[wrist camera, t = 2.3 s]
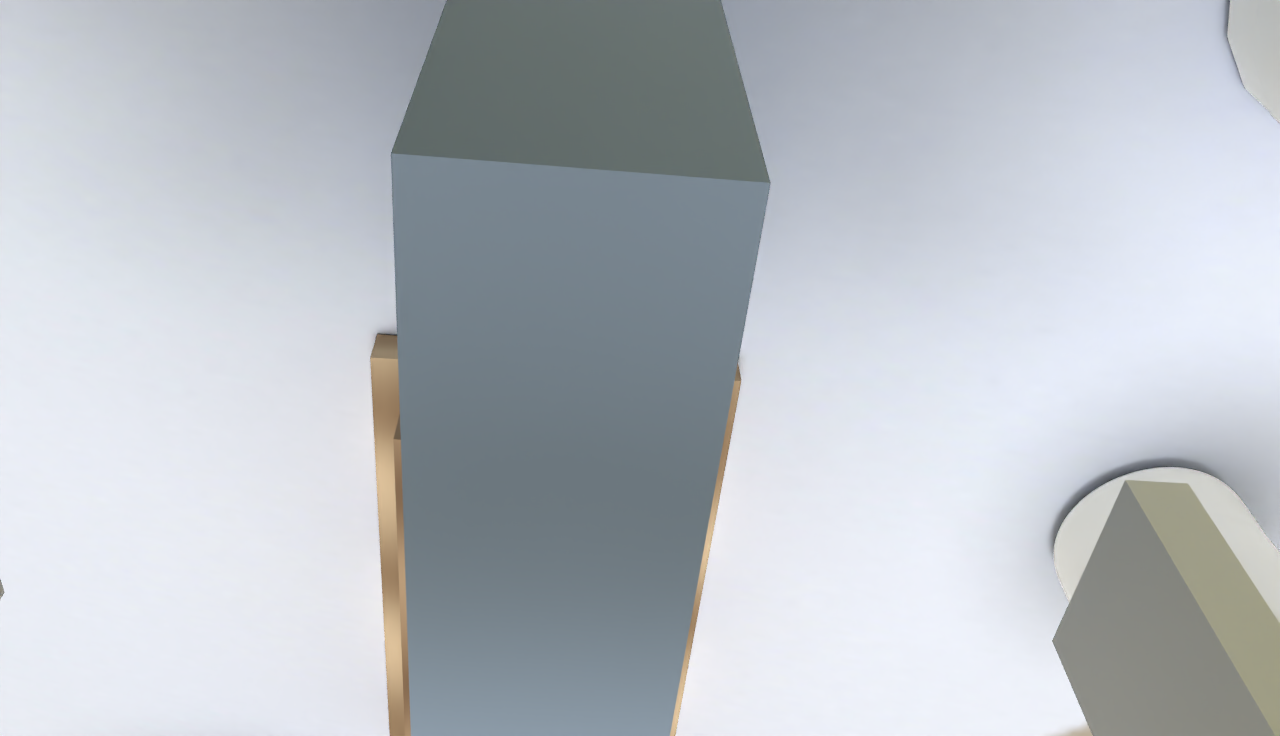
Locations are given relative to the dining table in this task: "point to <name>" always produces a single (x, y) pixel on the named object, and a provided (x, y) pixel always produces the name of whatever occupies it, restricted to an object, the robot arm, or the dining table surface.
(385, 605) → the brown wooden open box
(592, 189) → the panel
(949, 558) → the dining table surface
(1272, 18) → the bottle
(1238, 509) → the drinking glass
